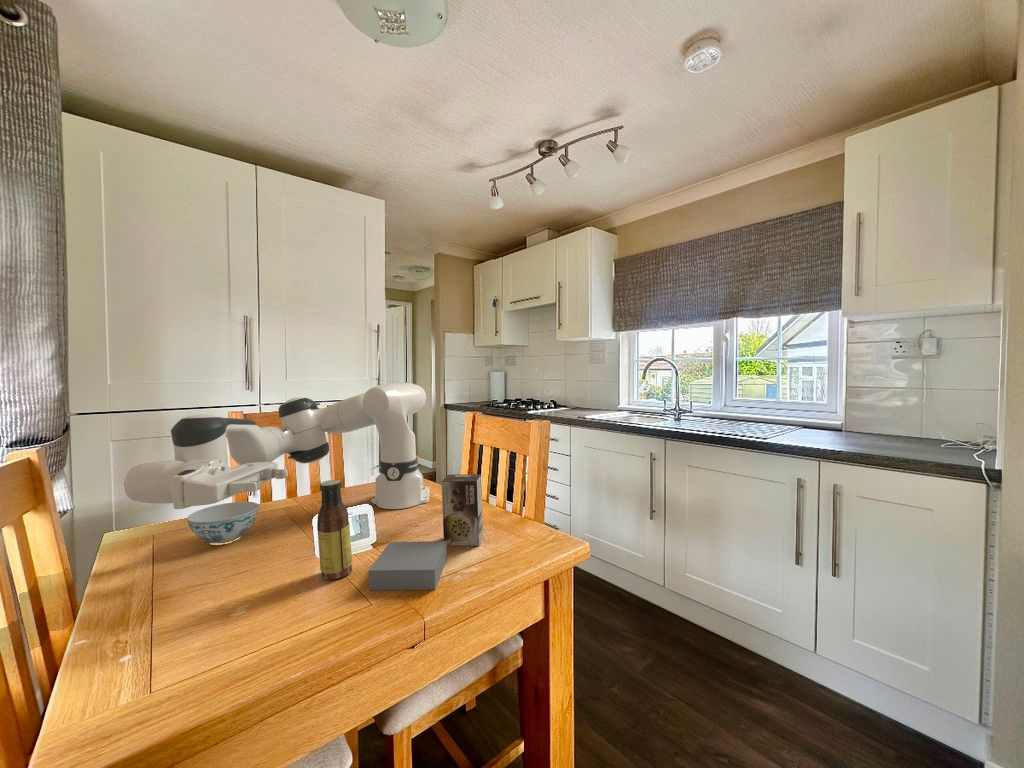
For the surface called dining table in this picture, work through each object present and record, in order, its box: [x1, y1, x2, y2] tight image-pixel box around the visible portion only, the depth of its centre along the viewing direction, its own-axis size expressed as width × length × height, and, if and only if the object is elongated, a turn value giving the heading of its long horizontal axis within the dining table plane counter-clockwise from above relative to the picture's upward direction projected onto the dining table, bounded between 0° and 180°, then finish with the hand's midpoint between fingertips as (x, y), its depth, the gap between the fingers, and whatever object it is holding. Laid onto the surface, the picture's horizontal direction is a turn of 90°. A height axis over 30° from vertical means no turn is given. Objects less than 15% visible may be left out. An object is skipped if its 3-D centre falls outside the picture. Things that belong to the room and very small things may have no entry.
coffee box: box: [440, 473, 484, 547], centre depth 101 cm, size 9×6×16 cm
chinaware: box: [186, 501, 260, 543], centre depth 104 cm, size 15×15×8 cm
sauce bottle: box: [316, 479, 353, 581], centre depth 85 cm, size 6×6×20 cm
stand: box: [368, 540, 448, 591], centre depth 85 cm, size 13×13×4 cm
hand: (272, 479), depth 84 cm, fingers open, 8 cm apart
